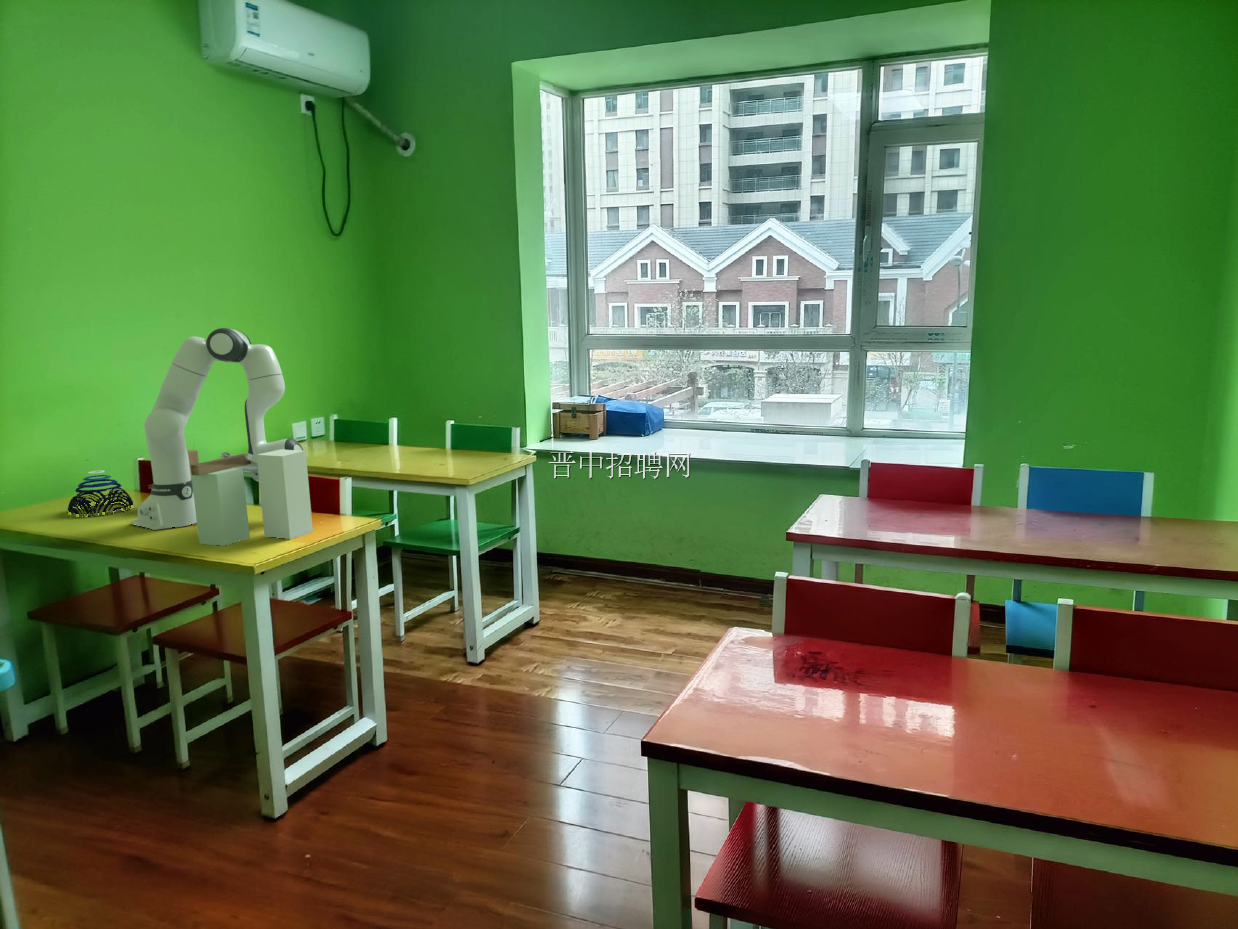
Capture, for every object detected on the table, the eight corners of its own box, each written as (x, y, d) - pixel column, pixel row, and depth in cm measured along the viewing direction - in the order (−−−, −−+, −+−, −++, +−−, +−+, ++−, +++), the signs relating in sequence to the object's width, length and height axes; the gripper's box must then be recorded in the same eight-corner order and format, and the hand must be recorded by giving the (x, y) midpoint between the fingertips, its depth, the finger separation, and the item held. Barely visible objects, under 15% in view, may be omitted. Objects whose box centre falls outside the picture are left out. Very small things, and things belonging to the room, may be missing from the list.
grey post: (264, 537, 262) (256, 454, 257) (287, 529, 271) (280, 449, 266) (290, 539, 258) (282, 456, 253) (312, 531, 267) (305, 450, 263)
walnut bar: (191, 475, 248) (190, 465, 247) (244, 463, 266) (243, 453, 265) (199, 475, 247) (198, 465, 246) (251, 463, 265) (250, 454, 264)
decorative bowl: (55, 514, 298) (49, 474, 295) (111, 502, 315) (106, 465, 313) (90, 520, 289) (84, 479, 286) (145, 507, 306) (140, 468, 304)
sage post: (199, 543, 256) (191, 472, 252) (225, 535, 265) (217, 466, 261) (224, 546, 252) (216, 474, 248) (249, 537, 261) (242, 468, 257)
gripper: (243, 459, 277) (212, 444, 265) (293, 462, 270) (263, 446, 258) (238, 477, 276) (206, 463, 263) (287, 480, 268) (257, 466, 256)
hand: (234, 455), depth 261 cm, fingers open, 8 cm apart
